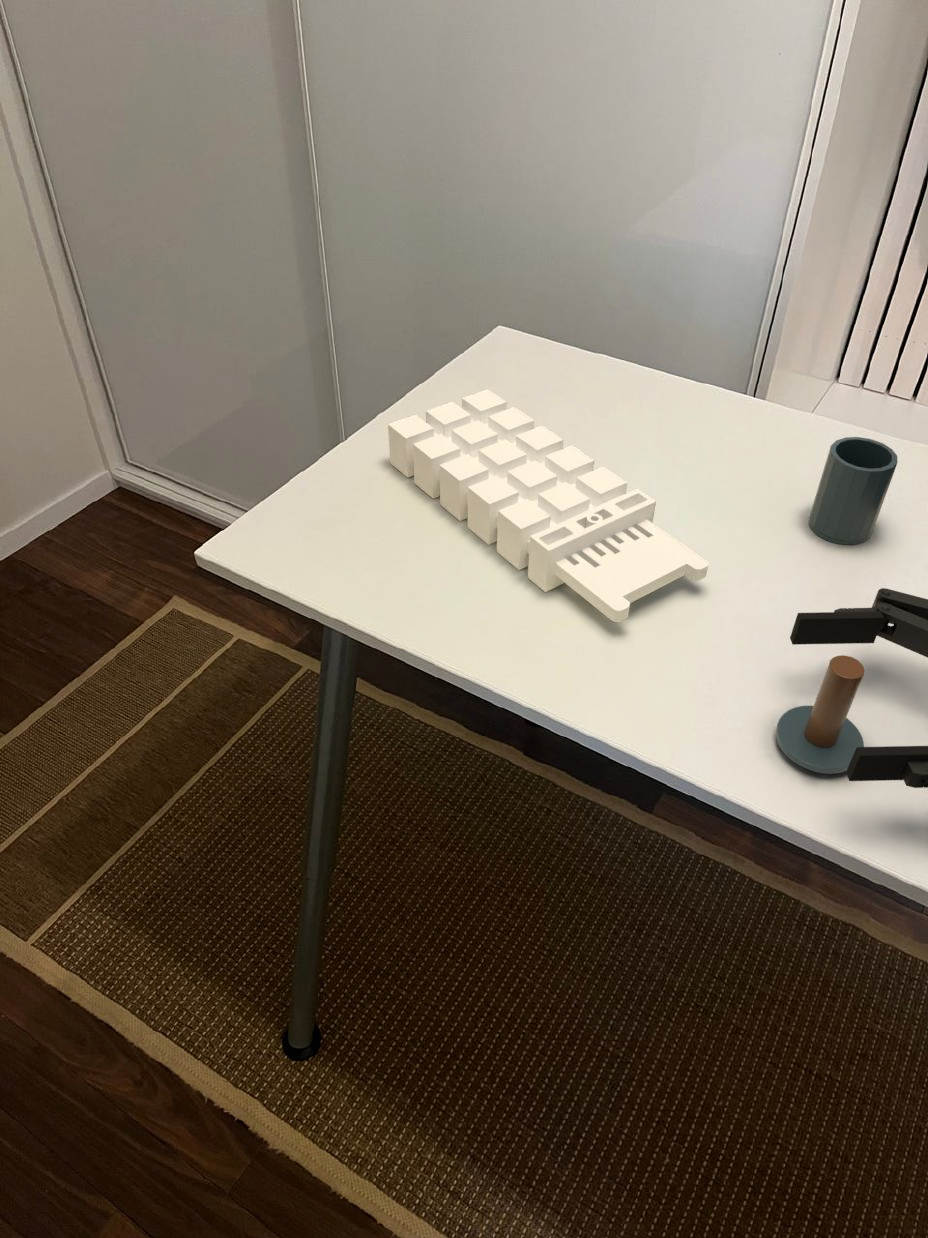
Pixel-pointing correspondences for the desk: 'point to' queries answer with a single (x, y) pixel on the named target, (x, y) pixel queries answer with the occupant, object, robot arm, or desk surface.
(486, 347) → the desk surface
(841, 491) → the tin
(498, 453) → the organizer
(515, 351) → the desk surface
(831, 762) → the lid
